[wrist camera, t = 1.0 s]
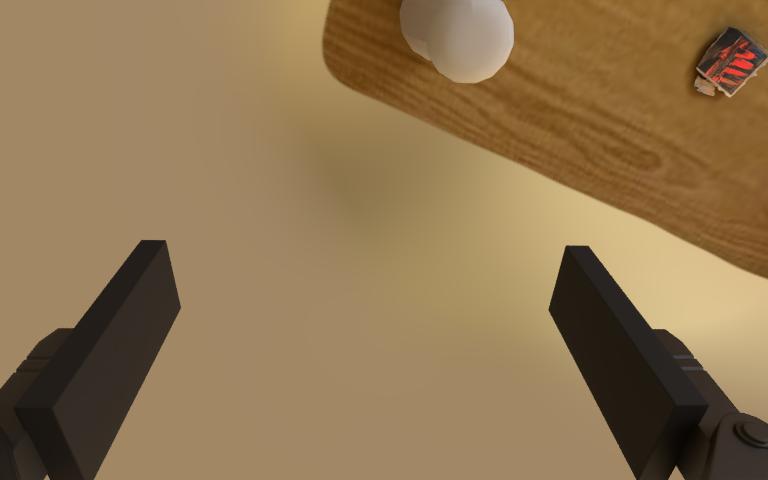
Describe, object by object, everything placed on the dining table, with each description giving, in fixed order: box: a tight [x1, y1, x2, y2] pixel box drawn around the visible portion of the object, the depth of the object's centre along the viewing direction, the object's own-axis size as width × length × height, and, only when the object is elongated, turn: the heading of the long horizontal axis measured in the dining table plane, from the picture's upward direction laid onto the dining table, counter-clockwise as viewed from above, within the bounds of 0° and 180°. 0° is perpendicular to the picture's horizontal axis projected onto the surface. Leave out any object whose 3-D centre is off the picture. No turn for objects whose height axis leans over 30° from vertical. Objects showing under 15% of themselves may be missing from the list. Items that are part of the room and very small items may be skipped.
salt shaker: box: [399, 0, 514, 83], centre depth 29 cm, size 6×6×13 cm
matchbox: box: [694, 27, 768, 98], centre depth 37 cm, size 5×5×1 cm
